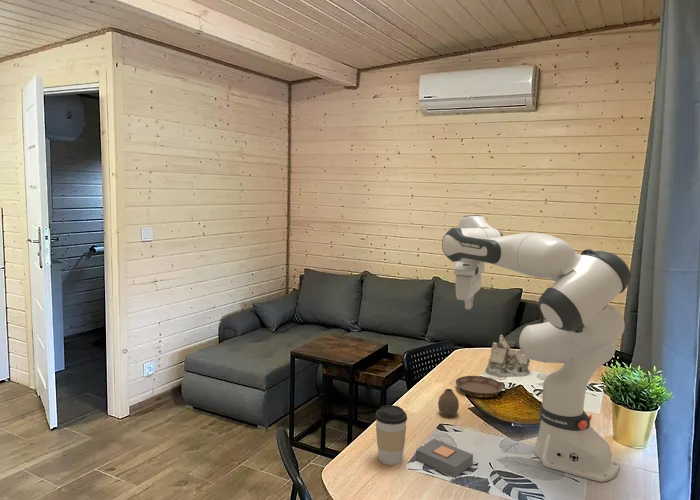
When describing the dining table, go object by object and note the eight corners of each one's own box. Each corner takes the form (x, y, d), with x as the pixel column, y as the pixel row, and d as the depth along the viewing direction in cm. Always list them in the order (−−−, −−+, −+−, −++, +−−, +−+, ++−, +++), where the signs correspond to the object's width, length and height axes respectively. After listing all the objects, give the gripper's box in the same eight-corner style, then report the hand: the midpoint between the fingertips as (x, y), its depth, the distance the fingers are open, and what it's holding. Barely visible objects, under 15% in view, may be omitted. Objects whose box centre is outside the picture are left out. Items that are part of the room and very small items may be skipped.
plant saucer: (476, 379, 209) (477, 372, 209) (512, 393, 194) (513, 386, 194) (445, 388, 199) (445, 381, 199) (480, 404, 185) (481, 396, 184)
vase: (458, 419, 172) (459, 394, 171) (437, 417, 173) (438, 393, 172) (458, 411, 179) (459, 386, 178) (438, 409, 180) (439, 385, 179)
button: (454, 461, 146) (455, 451, 145) (446, 467, 142) (446, 456, 142) (441, 456, 149) (442, 445, 148) (433, 461, 145) (433, 451, 145)
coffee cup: (386, 447, 154) (387, 399, 152) (412, 457, 148) (413, 407, 146) (368, 459, 147) (368, 409, 145) (394, 470, 141) (395, 418, 139)
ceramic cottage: (479, 371, 217) (484, 337, 214) (499, 363, 228) (504, 331, 226) (513, 384, 206) (518, 348, 203) (533, 375, 217) (537, 341, 215)
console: (472, 464, 144) (473, 454, 144) (455, 477, 138) (455, 467, 138) (433, 448, 153) (434, 438, 153) (415, 459, 147) (416, 449, 146)
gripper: (467, 260, 174) (466, 300, 176) (452, 269, 156) (450, 314, 158) (486, 261, 171) (484, 302, 173) (473, 271, 153) (471, 316, 155)
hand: (468, 308), depth 165 cm, fingers closed
